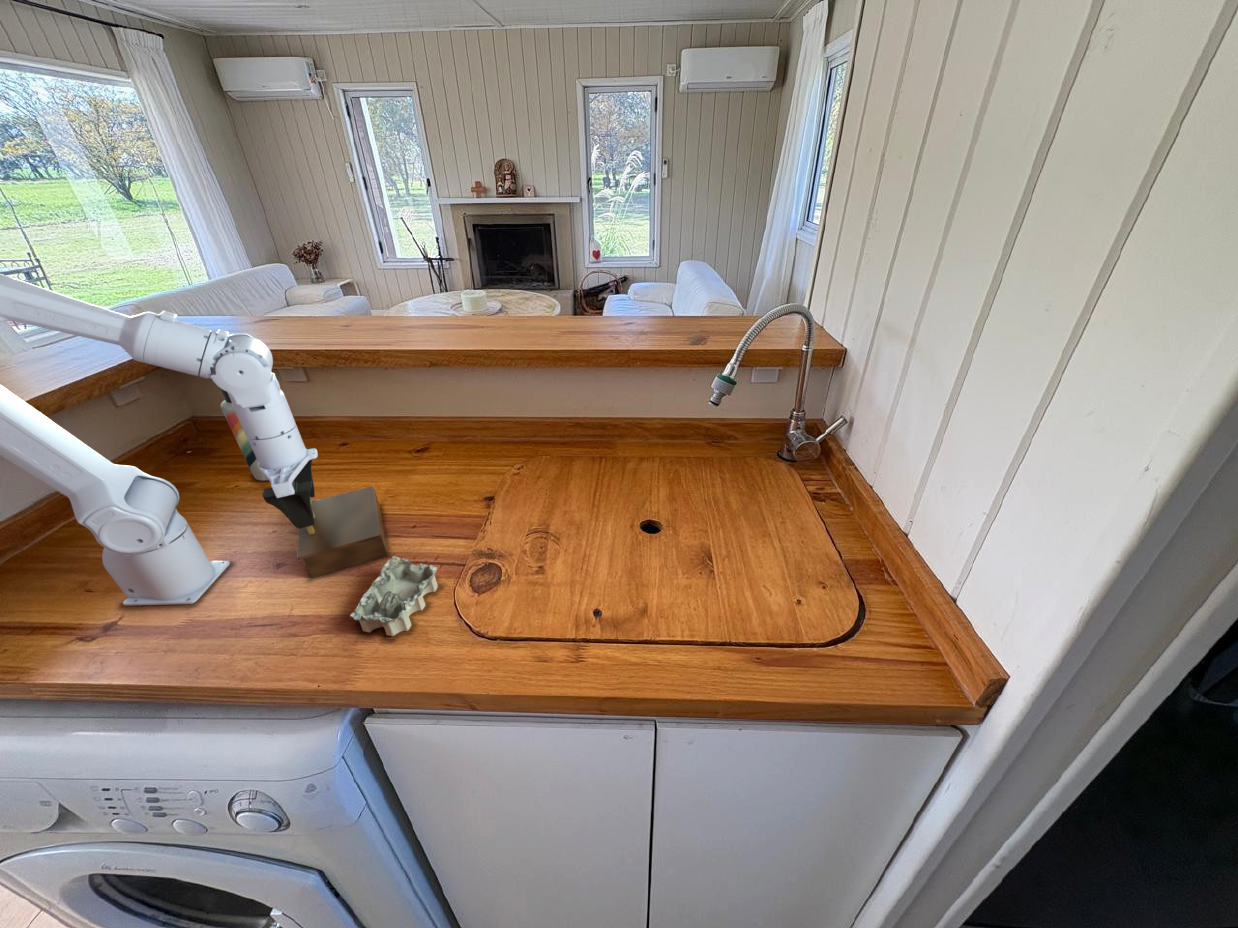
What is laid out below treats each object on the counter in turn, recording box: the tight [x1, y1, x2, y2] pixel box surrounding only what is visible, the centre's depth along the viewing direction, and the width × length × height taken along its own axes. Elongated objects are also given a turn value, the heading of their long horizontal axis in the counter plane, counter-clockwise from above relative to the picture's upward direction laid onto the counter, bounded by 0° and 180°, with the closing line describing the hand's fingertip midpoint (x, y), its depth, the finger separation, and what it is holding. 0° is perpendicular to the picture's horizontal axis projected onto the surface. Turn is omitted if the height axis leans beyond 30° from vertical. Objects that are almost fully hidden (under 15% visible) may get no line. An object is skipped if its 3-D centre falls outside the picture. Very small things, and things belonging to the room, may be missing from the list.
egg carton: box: [349, 554, 439, 637], centre depth 66 cm, size 11×8×4 cm
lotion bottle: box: [218, 387, 269, 482], centre depth 89 cm, size 6×6×20 cm
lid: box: [296, 485, 381, 562], centre depth 75 cm, size 11×14×4 cm
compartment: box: [302, 488, 389, 579], centre depth 77 cm, size 10×14×4 cm
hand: (306, 511), depth 73 cm, fingers open, 7 cm apart
